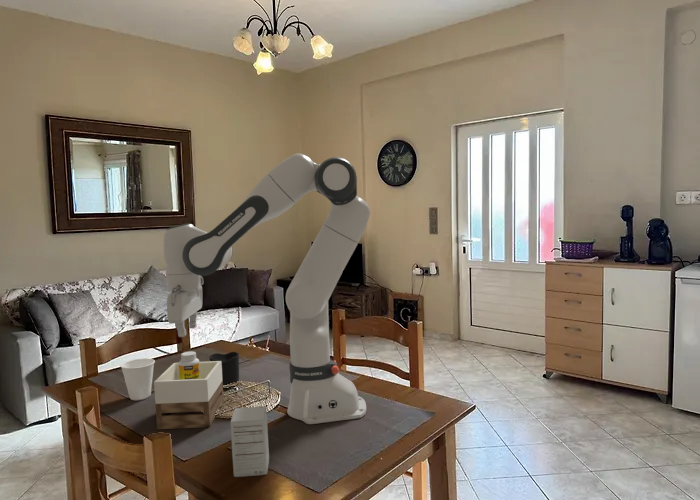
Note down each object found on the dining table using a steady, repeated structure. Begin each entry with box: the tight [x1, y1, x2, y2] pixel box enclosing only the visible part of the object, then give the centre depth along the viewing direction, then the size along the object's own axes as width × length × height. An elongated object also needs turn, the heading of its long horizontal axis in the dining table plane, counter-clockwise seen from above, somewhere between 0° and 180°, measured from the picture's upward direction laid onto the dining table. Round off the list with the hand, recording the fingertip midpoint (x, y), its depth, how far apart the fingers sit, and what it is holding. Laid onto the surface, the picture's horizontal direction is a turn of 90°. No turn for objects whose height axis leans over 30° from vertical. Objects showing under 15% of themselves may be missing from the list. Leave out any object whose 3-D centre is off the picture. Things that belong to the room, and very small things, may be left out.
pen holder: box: [208, 351, 240, 385], centre depth 162 cm, size 9×9×10 cm
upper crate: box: [153, 360, 223, 405], centre depth 138 cm, size 14×16×6 cm
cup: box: [120, 357, 156, 401], centre depth 154 cm, size 10×10×11 cm
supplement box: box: [230, 405, 270, 478], centre depth 109 cm, size 7×7×13 cm
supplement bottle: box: [178, 350, 200, 380], centre depth 138 cm, size 6×6×10 cm
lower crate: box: [155, 381, 225, 430], centre depth 138 cm, size 14×16×7 cm
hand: (187, 331), depth 137 cm, fingers open, 8 cm apart
